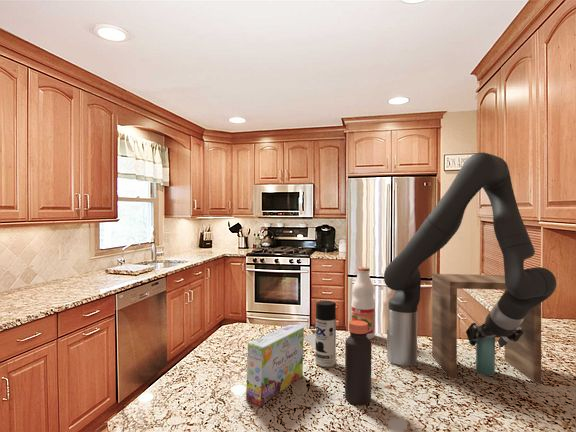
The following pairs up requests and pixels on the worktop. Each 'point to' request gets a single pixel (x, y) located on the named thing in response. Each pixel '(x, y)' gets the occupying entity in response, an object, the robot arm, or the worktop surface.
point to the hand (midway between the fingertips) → (485, 343)
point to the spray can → (325, 333)
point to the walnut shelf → (444, 325)
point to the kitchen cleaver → (311, 337)
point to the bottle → (358, 364)
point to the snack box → (274, 363)
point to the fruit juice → (364, 300)
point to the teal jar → (485, 355)
